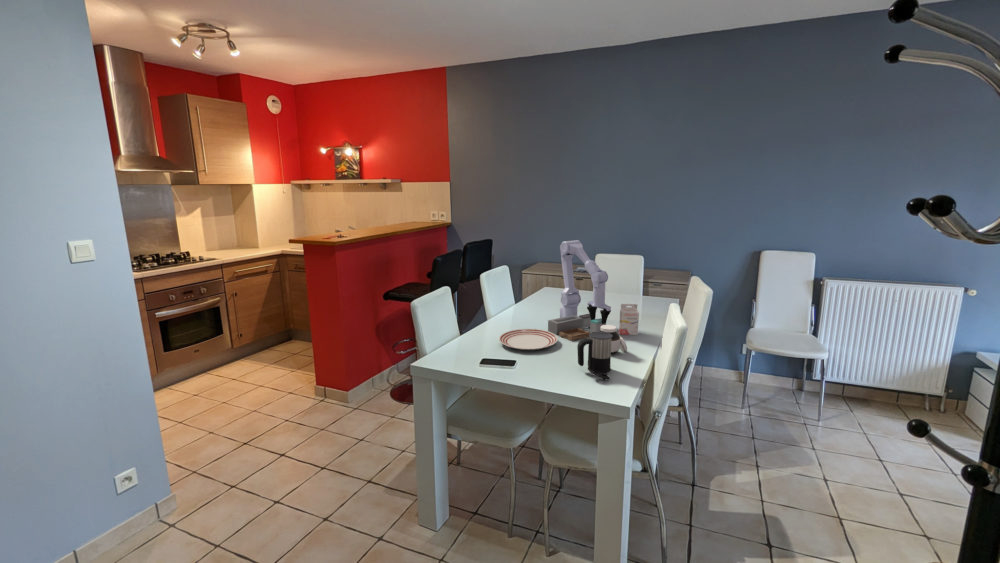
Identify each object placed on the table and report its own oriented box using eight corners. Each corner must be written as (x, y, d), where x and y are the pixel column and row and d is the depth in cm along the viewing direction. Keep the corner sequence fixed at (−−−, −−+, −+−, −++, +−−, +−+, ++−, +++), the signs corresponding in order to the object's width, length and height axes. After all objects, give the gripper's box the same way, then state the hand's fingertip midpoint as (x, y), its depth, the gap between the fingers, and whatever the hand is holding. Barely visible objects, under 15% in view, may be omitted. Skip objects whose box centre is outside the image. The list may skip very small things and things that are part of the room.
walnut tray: (559, 336, 232) (559, 331, 232) (577, 331, 239) (577, 327, 238) (571, 341, 225) (571, 336, 224) (590, 336, 231) (590, 332, 231)
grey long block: (547, 331, 240) (547, 319, 238) (573, 326, 249) (573, 314, 247) (556, 335, 234) (557, 323, 232) (582, 329, 243) (582, 317, 241)
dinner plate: (554, 356, 206) (554, 348, 205) (493, 352, 212) (493, 345, 211) (559, 336, 232) (559, 330, 232) (505, 333, 238) (505, 327, 237)
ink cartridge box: (620, 334, 233) (621, 306, 230) (618, 331, 238) (620, 303, 235) (638, 335, 232) (639, 306, 229) (636, 332, 237) (637, 303, 234)
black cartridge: (578, 326, 248) (579, 315, 247) (588, 324, 252) (589, 313, 250) (584, 328, 245) (584, 317, 243) (594, 326, 248) (594, 315, 247)
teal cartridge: (590, 331, 239) (590, 320, 238) (600, 329, 242) (600, 318, 241) (595, 333, 235) (596, 322, 234) (605, 331, 239) (606, 320, 238)
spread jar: (592, 351, 211) (593, 326, 209) (608, 345, 218) (609, 321, 216) (615, 358, 202) (616, 332, 200) (630, 352, 209) (632, 327, 207)
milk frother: (601, 364, 196) (602, 329, 193) (627, 377, 182) (629, 340, 179) (573, 370, 189) (573, 335, 186) (598, 384, 176) (599, 346, 173)
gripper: (583, 293, 239) (582, 319, 242) (603, 299, 227) (603, 326, 230) (593, 292, 243) (592, 317, 245) (614, 297, 231) (613, 324, 233)
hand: (598, 321), depth 238 cm, fingers open, 7 cm apart
